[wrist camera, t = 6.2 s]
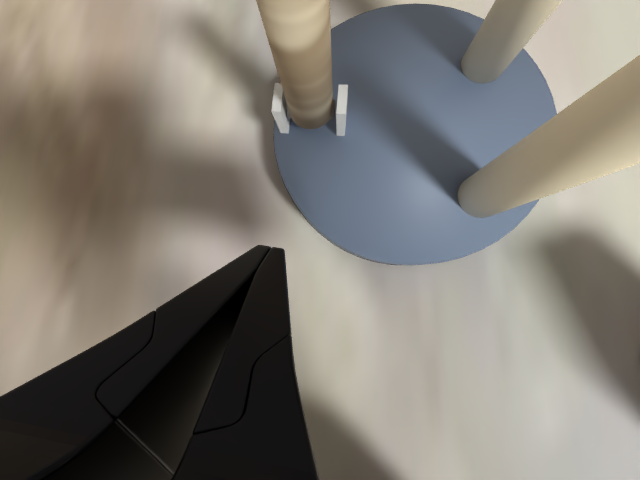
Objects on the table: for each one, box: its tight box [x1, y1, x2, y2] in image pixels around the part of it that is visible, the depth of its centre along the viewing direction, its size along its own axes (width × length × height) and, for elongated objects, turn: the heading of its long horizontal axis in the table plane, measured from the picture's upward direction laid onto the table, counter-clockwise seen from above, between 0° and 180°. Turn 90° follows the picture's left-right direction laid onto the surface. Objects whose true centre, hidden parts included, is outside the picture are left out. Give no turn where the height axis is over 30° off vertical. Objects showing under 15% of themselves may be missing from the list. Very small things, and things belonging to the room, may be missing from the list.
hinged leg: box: [256, 0, 335, 129], centre depth 11 cm, size 3×3×13 cm
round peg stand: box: [271, 0, 640, 265], centre depth 13 cm, size 20×20×16 cm
